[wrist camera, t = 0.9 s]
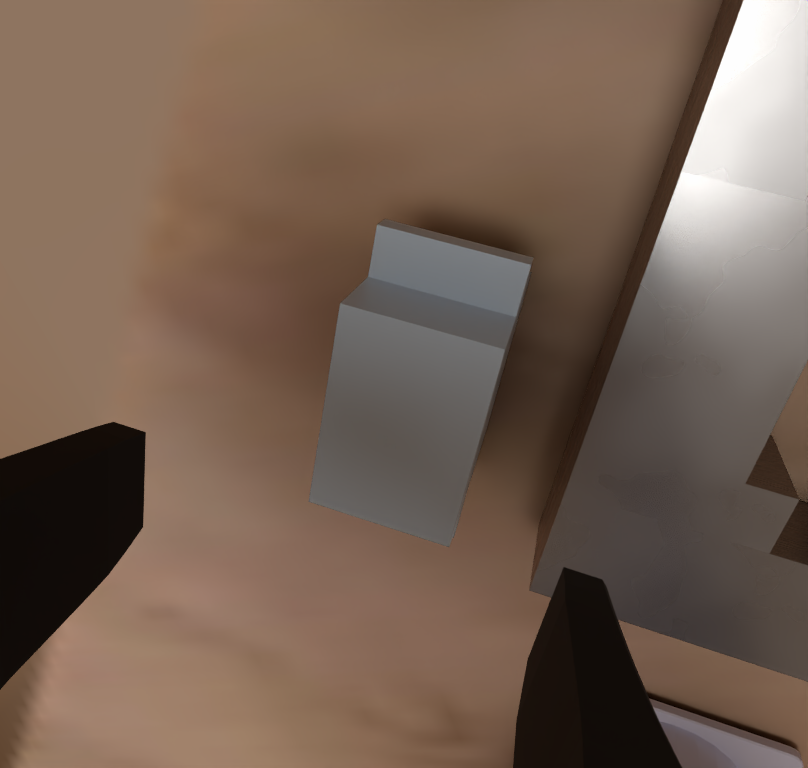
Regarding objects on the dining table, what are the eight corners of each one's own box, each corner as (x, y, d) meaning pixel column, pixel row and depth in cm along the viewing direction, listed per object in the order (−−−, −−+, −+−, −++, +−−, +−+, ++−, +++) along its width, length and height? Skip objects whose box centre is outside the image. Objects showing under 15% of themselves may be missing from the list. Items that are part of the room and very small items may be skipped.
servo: (474, 471, 22) (436, 592, 17) (368, 438, 22) (301, 547, 17) (544, 227, 18) (521, 292, 13) (416, 194, 19) (349, 245, 14)
